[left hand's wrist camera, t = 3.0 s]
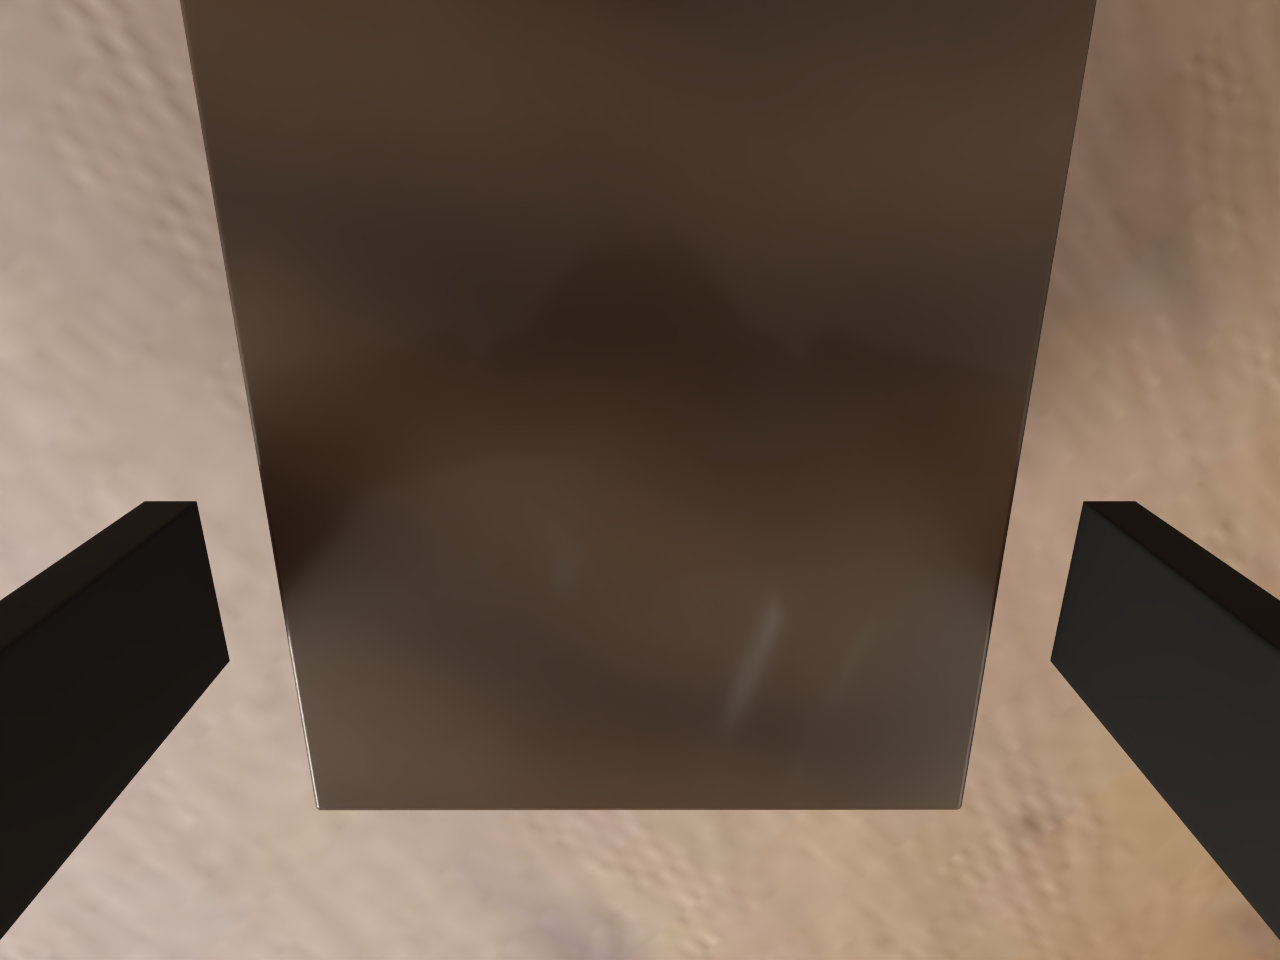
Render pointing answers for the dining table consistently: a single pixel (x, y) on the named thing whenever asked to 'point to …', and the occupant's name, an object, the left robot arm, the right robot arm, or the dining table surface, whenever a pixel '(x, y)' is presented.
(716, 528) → the cabinet
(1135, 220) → the dining table surface
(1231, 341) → the dining table surface
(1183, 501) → the dining table surface
